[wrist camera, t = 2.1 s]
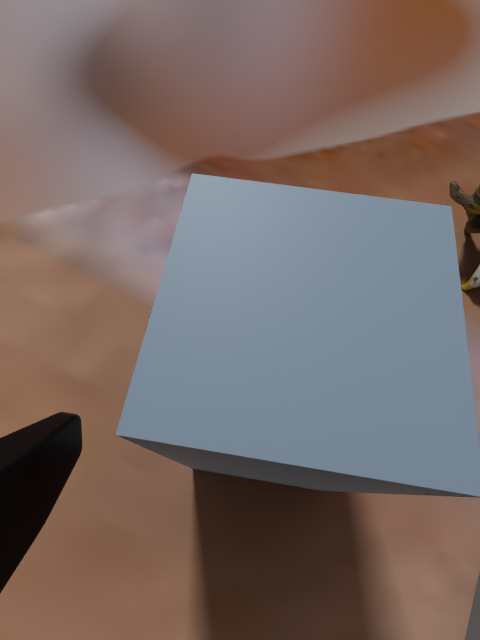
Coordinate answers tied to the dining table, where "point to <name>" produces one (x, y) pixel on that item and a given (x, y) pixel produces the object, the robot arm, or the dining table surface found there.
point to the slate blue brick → (309, 343)
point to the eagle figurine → (469, 221)
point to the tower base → (475, 617)
